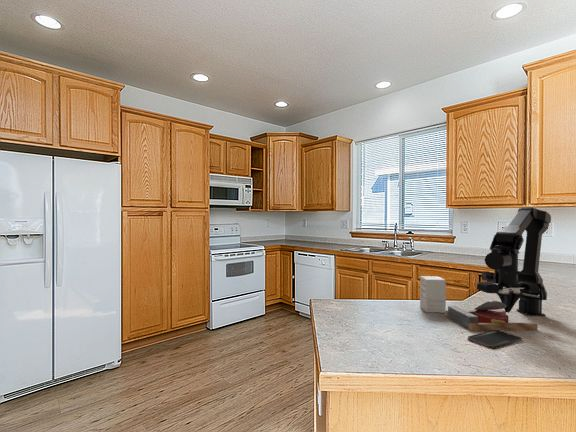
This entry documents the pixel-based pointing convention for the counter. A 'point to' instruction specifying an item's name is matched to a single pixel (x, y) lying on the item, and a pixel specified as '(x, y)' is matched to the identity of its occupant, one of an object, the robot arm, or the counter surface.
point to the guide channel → (499, 324)
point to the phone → (494, 339)
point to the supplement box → (433, 294)
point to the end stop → (461, 316)
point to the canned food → (491, 313)
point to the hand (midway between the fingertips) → (507, 312)
